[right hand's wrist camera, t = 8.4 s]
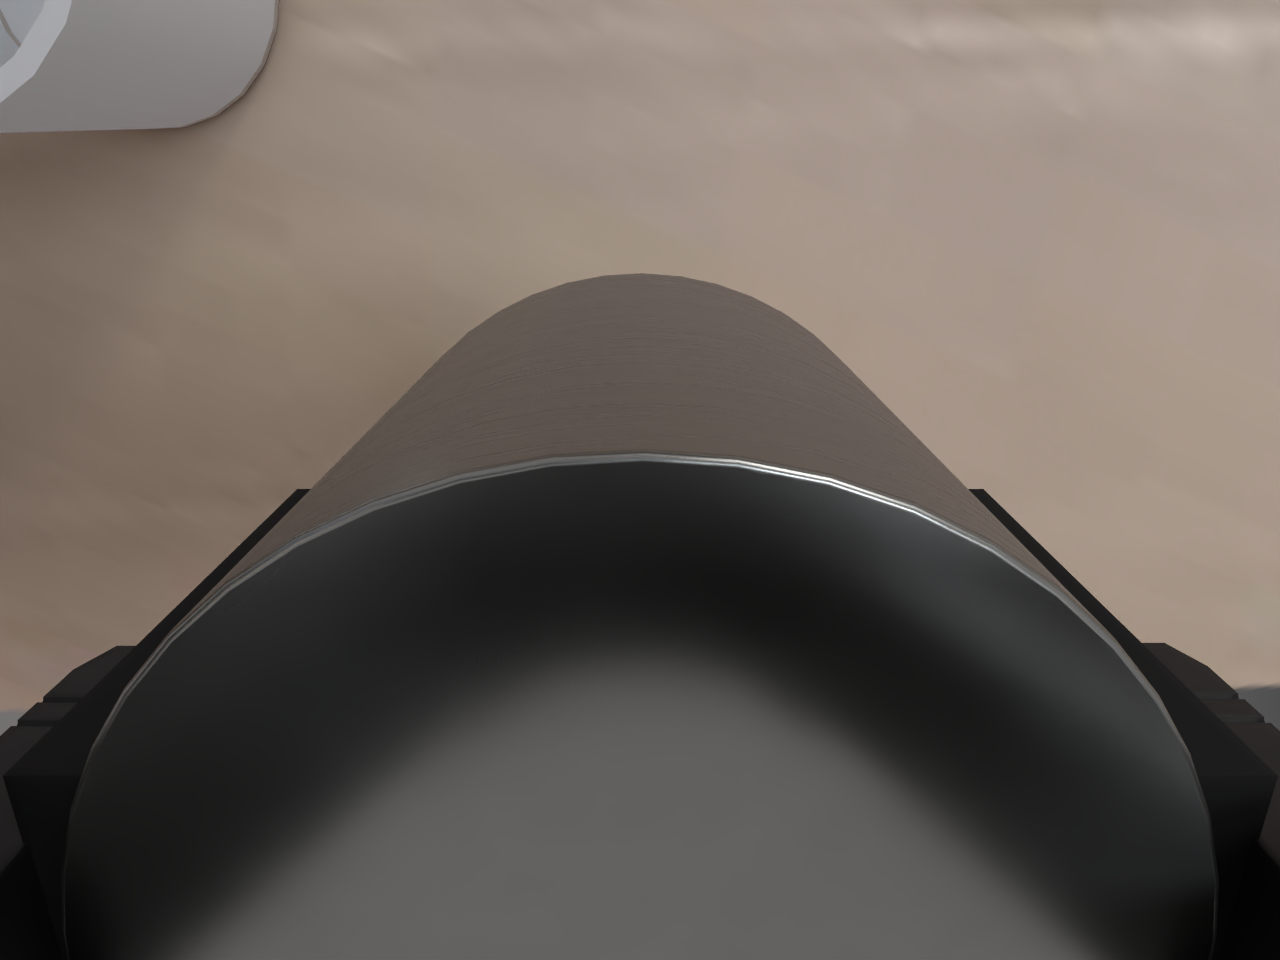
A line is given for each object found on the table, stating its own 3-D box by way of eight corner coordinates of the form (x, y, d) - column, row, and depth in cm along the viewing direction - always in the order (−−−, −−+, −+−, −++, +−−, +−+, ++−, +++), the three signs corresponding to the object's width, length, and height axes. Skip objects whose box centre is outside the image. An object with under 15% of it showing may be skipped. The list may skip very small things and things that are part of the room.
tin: (437, 775, 17) (243, 1369, 8) (322, 311, 14) (-148, 541, 5) (905, 727, 16) (1171, 1299, 8) (893, 238, 13) (1296, 369, 5)
